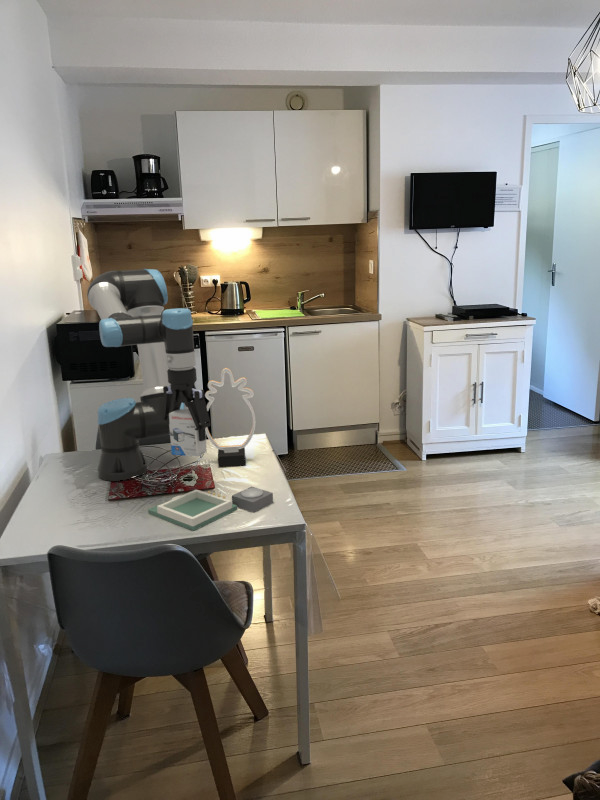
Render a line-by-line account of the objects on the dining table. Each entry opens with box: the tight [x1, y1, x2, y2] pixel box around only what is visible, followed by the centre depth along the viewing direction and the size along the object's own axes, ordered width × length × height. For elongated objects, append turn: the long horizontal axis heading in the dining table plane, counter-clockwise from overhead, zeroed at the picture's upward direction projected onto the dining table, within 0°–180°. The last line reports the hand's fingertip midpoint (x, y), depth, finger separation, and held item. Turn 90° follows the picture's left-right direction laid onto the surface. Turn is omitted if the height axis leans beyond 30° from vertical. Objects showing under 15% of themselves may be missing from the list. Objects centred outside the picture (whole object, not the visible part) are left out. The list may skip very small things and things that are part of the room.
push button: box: [231, 486, 274, 514], centre depth 179 cm, size 8×8×4 cm
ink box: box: [169, 408, 207, 457], centre depth 175 cm, size 9×5×12 cm, turn 73°
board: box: [147, 488, 238, 532], centre depth 175 cm, size 18×16×3 cm
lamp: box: [204, 367, 257, 469], centre depth 209 cm, size 17×9×32 cm, turn 96°
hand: (188, 448), depth 176 cm, fingers closed on ink box, 9 cm apart
